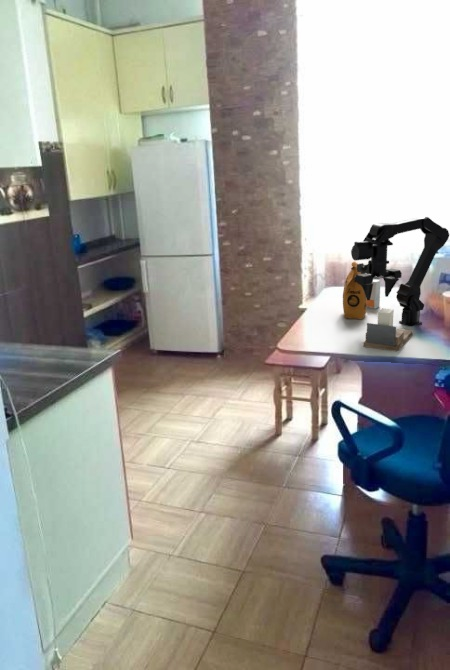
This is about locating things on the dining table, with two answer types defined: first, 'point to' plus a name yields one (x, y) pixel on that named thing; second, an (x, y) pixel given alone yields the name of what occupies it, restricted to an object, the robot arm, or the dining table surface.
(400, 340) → the shelf plank
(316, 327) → the dining table surface
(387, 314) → the white rectangular block
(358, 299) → the coffee package
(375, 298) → the skincare box
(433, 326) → the dining table surface
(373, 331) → the bookend
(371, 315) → the dining table surface
